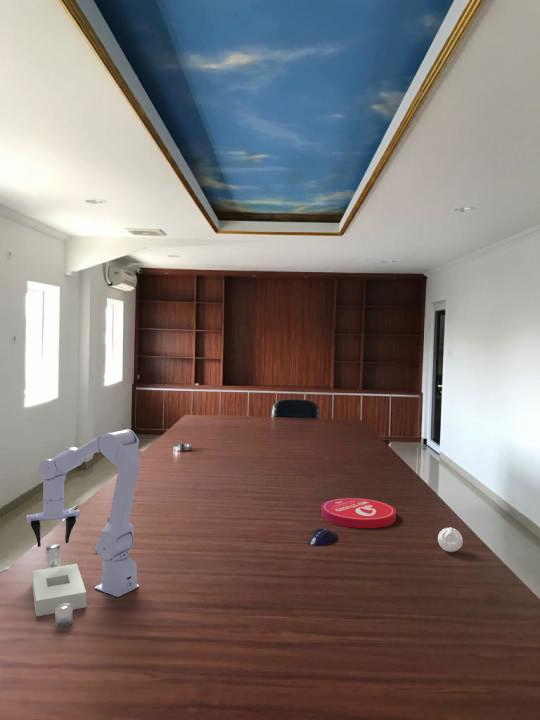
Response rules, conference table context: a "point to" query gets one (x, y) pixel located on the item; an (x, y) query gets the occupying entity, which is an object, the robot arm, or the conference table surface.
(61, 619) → the short pin
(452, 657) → the conference table surface
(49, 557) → the tall pin
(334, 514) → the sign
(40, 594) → the pin board
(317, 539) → the computer mouse
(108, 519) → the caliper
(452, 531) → the white ball
